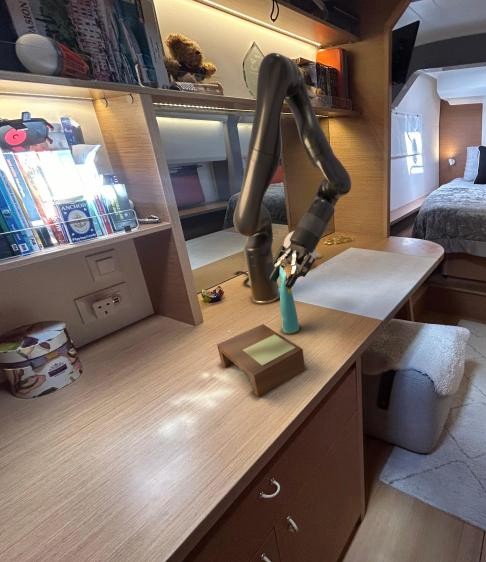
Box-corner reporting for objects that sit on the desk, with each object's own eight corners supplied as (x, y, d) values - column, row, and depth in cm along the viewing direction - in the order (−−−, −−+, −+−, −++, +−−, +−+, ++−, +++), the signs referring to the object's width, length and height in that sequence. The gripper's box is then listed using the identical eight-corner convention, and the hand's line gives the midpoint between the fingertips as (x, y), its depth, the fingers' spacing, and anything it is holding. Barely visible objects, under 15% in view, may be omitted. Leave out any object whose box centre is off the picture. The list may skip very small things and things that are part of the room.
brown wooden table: (221, 364, 87) (216, 343, 84) (266, 342, 95) (262, 323, 93) (258, 397, 75) (253, 374, 72) (305, 369, 83) (302, 348, 81)
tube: (303, 332, 99) (295, 271, 91) (287, 337, 97) (277, 275, 89) (294, 321, 105) (286, 263, 97) (279, 326, 102) (269, 267, 95)
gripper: (285, 222, 98) (255, 271, 95) (316, 229, 89) (285, 285, 86) (302, 235, 104) (274, 283, 101) (333, 244, 94) (304, 296, 91)
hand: (279, 283), depth 93 cm, fingers closed on tube, 6 cm apart
